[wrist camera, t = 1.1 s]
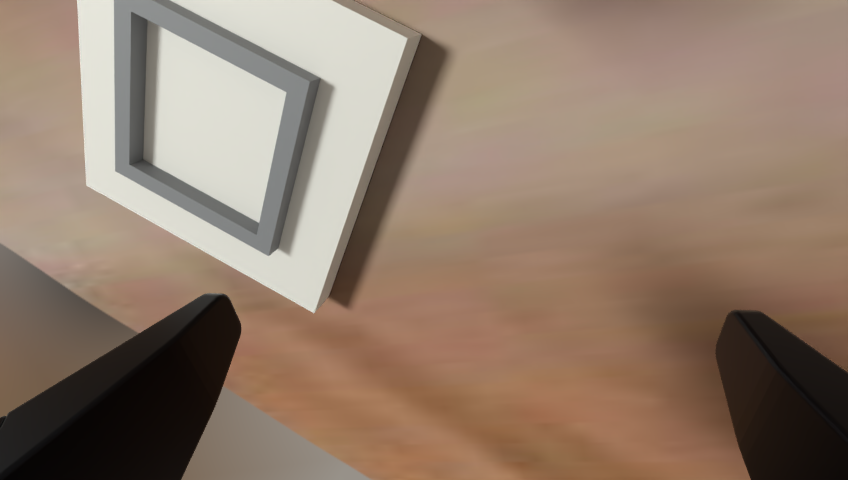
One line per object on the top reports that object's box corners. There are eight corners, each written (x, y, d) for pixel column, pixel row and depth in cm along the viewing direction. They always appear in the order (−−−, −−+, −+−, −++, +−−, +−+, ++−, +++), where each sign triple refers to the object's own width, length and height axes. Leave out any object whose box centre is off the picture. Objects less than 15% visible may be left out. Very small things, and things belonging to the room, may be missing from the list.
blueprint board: (421, 34, 17) (399, 40, 15) (328, 296, 25) (305, 322, 23) (107, -123, 18) (49, -135, 16) (111, 175, 26) (72, 191, 24)
